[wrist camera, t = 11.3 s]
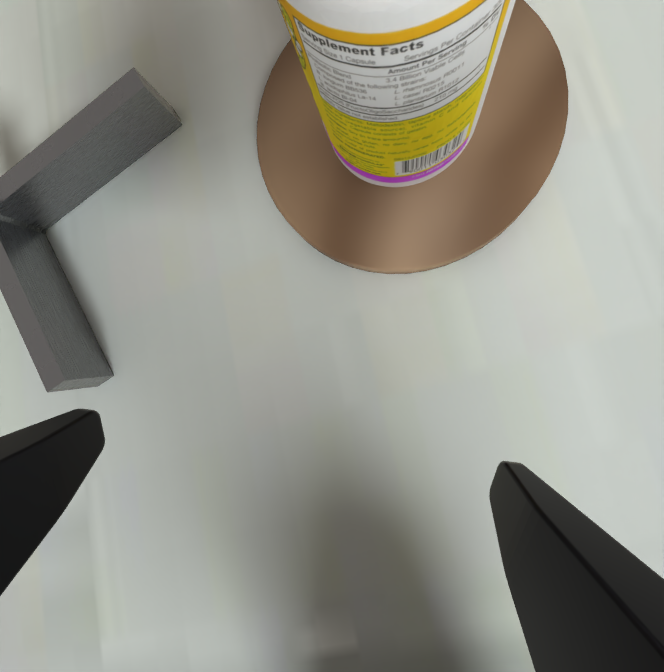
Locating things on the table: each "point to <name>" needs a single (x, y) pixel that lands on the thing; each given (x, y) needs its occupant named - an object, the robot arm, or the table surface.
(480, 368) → the table surface
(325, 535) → the table surface
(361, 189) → the copper plate
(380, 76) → the supplement bottle
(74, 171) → the rack bracket
